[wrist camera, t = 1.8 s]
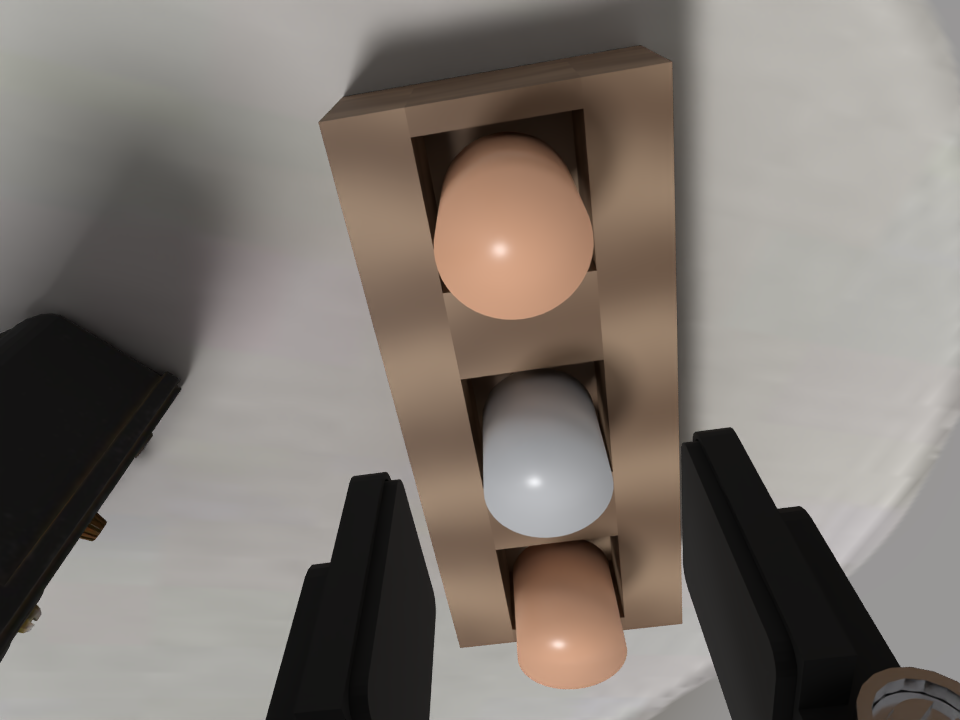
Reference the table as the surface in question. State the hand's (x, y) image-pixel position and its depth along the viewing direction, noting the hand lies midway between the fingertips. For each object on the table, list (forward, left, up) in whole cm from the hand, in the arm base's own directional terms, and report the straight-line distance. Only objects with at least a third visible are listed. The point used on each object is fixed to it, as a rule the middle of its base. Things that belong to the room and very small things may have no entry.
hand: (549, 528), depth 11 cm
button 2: (0, 0, -17) cm, 17 cm away
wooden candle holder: (+10, 0, -21) cm, 24 cm away
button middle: (+10, 0, -17) cm, 20 cm away
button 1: (+20, 0, -17) cm, 26 cm away
